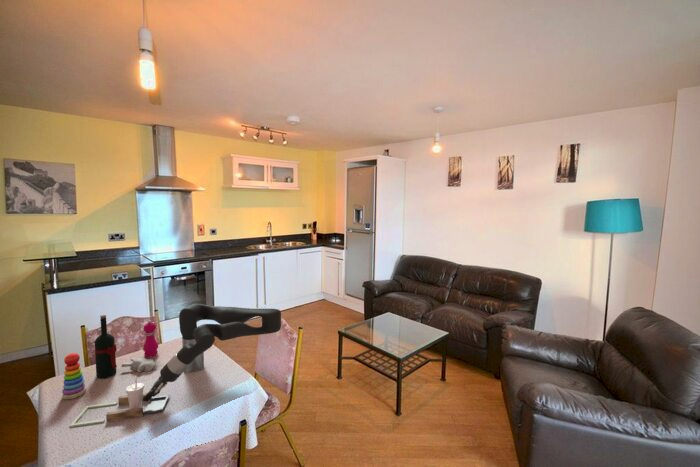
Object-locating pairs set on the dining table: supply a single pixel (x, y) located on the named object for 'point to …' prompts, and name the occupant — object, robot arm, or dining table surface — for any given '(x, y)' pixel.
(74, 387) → the stacking toy
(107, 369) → the wine bottle
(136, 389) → the smoothie
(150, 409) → the tray
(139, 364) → the bunny figurine
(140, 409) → the walnut channel
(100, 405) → the frame
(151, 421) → the dining table surface
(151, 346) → the pepper mill
